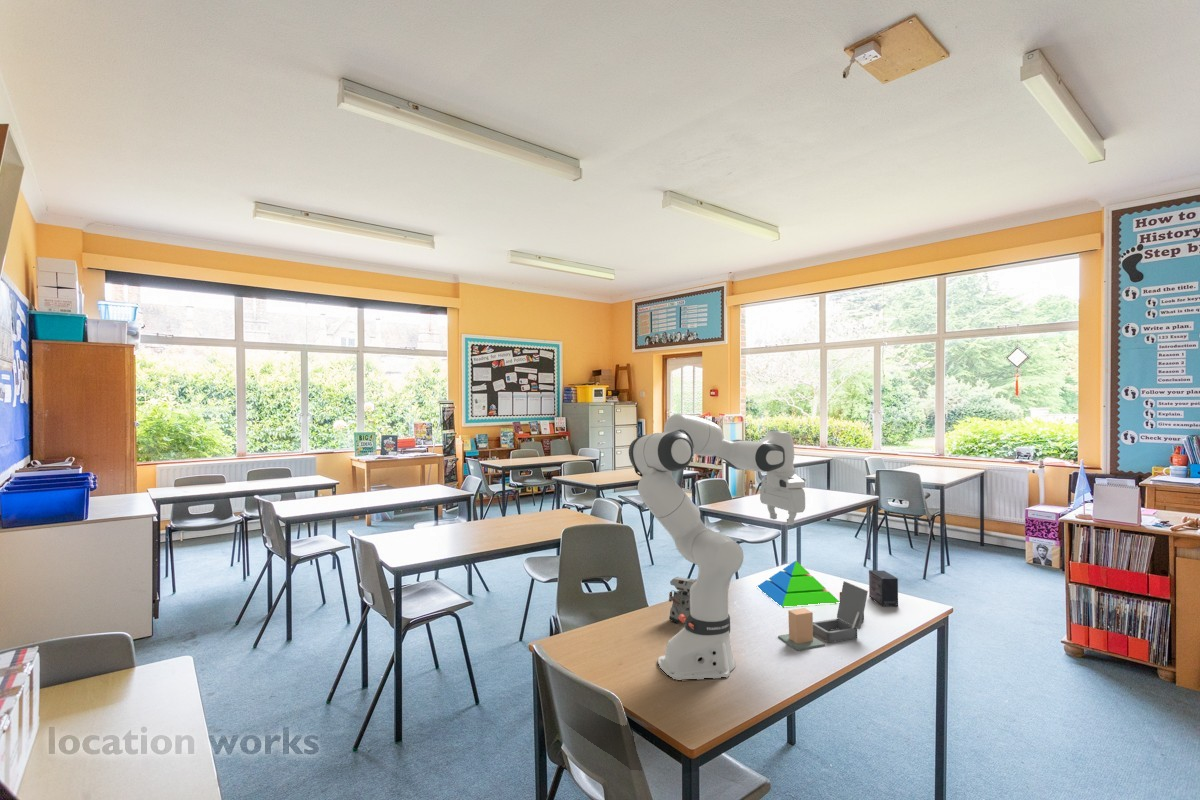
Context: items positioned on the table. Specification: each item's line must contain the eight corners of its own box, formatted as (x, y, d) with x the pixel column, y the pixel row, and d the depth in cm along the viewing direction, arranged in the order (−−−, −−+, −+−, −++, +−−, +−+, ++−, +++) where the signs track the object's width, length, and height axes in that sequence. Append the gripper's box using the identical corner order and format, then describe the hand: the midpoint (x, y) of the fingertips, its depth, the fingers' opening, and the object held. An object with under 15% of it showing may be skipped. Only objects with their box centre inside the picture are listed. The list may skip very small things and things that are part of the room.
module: (796, 643, 173) (796, 614, 173) (789, 638, 177) (788, 610, 177) (813, 640, 175) (812, 612, 175) (805, 635, 179) (804, 608, 179)
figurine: (688, 629, 187) (687, 585, 187) (666, 619, 197) (665, 576, 197) (708, 623, 192) (707, 580, 192) (685, 613, 202) (685, 572, 202)
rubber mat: (797, 650, 170) (797, 648, 170) (778, 637, 179) (778, 635, 179) (824, 645, 172) (824, 643, 172) (804, 633, 182) (804, 631, 182)
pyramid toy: (753, 588, 229) (753, 553, 229) (810, 584, 232) (810, 550, 232) (780, 610, 204) (779, 571, 205) (844, 606, 208) (843, 567, 208)
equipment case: (829, 643, 174) (828, 595, 174) (809, 631, 184) (808, 585, 184) (869, 636, 178) (867, 590, 178) (847, 625, 188) (846, 580, 188)
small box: (899, 606, 204) (899, 578, 204) (882, 606, 204) (881, 578, 204) (885, 596, 214) (884, 569, 215) (868, 597, 215) (867, 569, 215)
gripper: (754, 476, 191) (755, 516, 191) (791, 484, 171) (792, 528, 171) (770, 475, 192) (771, 515, 192) (808, 482, 173) (809, 527, 173)
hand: (781, 521), depth 181 cm, fingers open, 8 cm apart
